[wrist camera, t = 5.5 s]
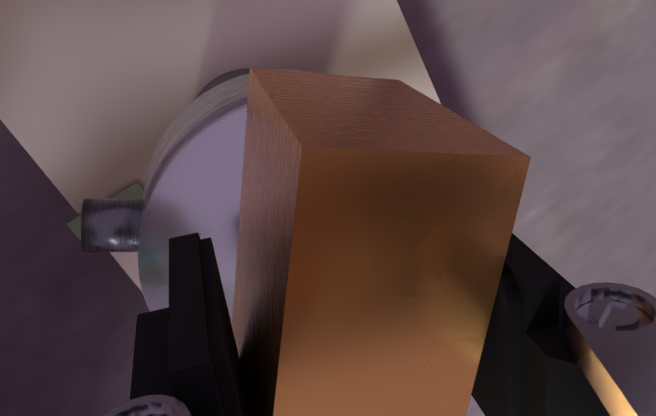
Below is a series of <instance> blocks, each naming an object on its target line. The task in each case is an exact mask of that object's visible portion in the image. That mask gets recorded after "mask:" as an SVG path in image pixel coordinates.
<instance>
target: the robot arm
mask: <svg viewBox="0 0 656 416" xmlns="http://www.w3.org/2000/svg"><path fill="white" fill-rule="evenodd" d="M471 395H472V396H473V398H474V399H475V401H476V402H477V404H478V405H479V407H480V408H481V410H482V411H483V413H484V414H485V416H656V298H655V297H654V296H652V295H651V294H649V293H647V292H645V291H643V290H641V289H639V288H635V287H632V286H628V285H624V284H617V283H609V282H606V283H592V284H587V285H583V286H580V287H578V288H575V287H573V286H572V285H571V284H570V283H569V282H568V281H567V280H565V279H564V278H563V277H562V276H561V275H560V274H559V273H557V272H556V271H555V270H554V269H553V268H552V267H550V266H549V265H548V264H547V263H546V262H545V261H544V260H542V259H541V258H540V257H539V256H538V255H537V254H536V253H534V252H533V251H532V250H531V249H530V248H529V247H528V246H526V245H525V244H524V243H523V242H522V241H521V240H519V239H518V238H517V237H516V236H515V235H514V234H513V233H512V234H511V238H510V242H509V246H508V250H507V254H506V258H505V262H504V266H503V270H502V274H501V278H500V281H499V286H498V290H497V294H496V298H495V302H494V305H493V309H492V313H491V317H490V321H489V325H488V329H487V333H486V337H485V341H484V345H483V349H482V353H481V357H480V361H479V365H478V369H477V373H476V377H475V381H474V385H473V389H472V393H471ZM104 416H249V414H248V408H247V402H246V396H245V390H244V384H243V378H242V371H241V365H240V359H239V355H238V350H237V346H236V342H235V337H234V333H233V329H232V324H231V320H230V316H229V312H228V307H227V303H226V299H225V294H224V290H223V286H222V282H221V277H220V273H219V269H218V264H217V260H216V256H215V252H214V247H213V243H212V239H211V237H209V238H205V239H200V236H199V233H198V232H197V233H192V234H187V235H183V236H178V237H173V238H169V307H168V308H163V309H159V310H155V311H150V312H146V313H142V314H139V315H138V317H137V325H136V336H135V348H134V359H133V371H132V382H131V394H130V400H129V401H127V402H125V403H123V404H121V405H119V406H116V407H115V408H113V409H112V410H111V411H109V412H108V413H106V414H105V415H104Z"/></svg>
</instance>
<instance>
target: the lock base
mask: <svg viewBox="0 0 656 416" xmlns="http://www.w3.org/2000/svg"><path fill="white" fill-rule="evenodd" d="M250 68H258V69H270V70H275V69H281V70H300V71H306V72H313V73H321V74H333V75H346V76H358V77H371V78H384V79H396V80H400V81H402V82H404V83H405V84H407V85H409V86H410V87H412V88H414V89H416V90H417V91H419V92H421V93H422V94H424V95H426V96H428V97H429V98H431V99H433V100H434V101H436V102H438V103H439V104H441V103H440V100H439V98H438V96H437V93H436V91H435V89H434V86H433V84H432V82H431V79H430V77H429V75H428V72H427V70H426V68H425V65H424V63H423V61H422V58H421V56H420V54H419V51H418V49H417V47H416V44H415V42H414V40H413V37H412V35H411V33H410V30H409V28H408V26H407V23H406V21H405V19H404V16H403V14H402V11H401V9H400V7H399V4H398V2H397V0H0V120H1V121H2V122H3V123H4V124H5V126H6V127H7V128H8V129H9V131H10V132H11V133H12V134H13V135H14V137H15V138H16V139H17V140H18V141H19V143H20V144H21V145H22V146H23V148H24V149H25V150H26V151H27V152H28V154H29V155H30V156H31V157H32V159H33V160H34V161H35V162H36V163H37V165H38V166H39V167H40V168H41V170H42V171H43V172H44V173H45V174H46V176H47V177H48V178H49V179H50V180H51V182H52V183H53V184H54V185H55V187H56V188H57V189H58V190H59V191H60V193H61V194H62V195H63V196H64V198H65V199H66V200H67V201H68V202H69V204H70V205H71V206H72V207H73V209H74V210H75V211H76V212H77V213H78V216H76V217H74V218H72V219H71V220H69V221H67V223H66V224H67V226H68V227H69V228H70V229H71V230H72V232H73V233H74V234H75V235H76V236H77V237H78V239H79V240H81V213H82V205H83V200H84V198H112V199H143V196H144V186H145V179H146V175H147V171H148V166H149V163H150V161H151V158H152V156H153V153H154V150H155V148H156V146H157V144H158V143H159V141H160V139H161V137H162V136H163V134H164V132H165V131H166V130H167V128H168V127H169V126H170V124H171V123H172V122H173V120H174V119H175V118H176V117H177V116H178V115H179V114H180V113H181V112H182V111H183V110H184V109H185V108H186V107H187V106H188V105H189V104H190V103H191V102H193V101H194V100H195V99H197V98H198V97H199V96H201V95H202V94H203V93H205V92H207V91H208V90H210V89H212V88H214V87H215V86H217V85H219V84H221V83H223V82H226V81H228V80H231V79H233V78H236V77H238V76H242V75H246V74H249V72H250ZM110 254H111V255H112V256H113V257H114V258H115V260H116V261H117V262H118V263H119V265H120V266H121V267H122V268H123V269H124V271H125V272H126V273H127V274H128V276H129V277H130V278H131V279H132V280H133V282H134V283H135V284H136V285H137V287H138V288H139V289H140V290H141V291H142V287H141V283H140V279H139V268H138V252H110ZM142 293H143V292H142Z"/></svg>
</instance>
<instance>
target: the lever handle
mask: <svg viewBox="0 0 656 416" xmlns="http://www.w3.org/2000/svg"><path fill="white" fill-rule="evenodd" d="M530 159H531V157H530V156H528V155H526V154H525V153H523V152H521V151H519V150H518V149H516V148H514V147H513V146H511V145H509V144H508V143H506V142H504V141H502V140H501V139H499V138H497V137H496V136H494V135H492V134H490V133H489V132H487V131H485V130H484V129H482V128H480V127H479V126H477V125H475V124H473V123H472V122H470V121H468V120H467V119H465V118H463V117H462V116H460V115H458V114H456V113H455V112H453V111H451V110H450V109H448V108H446V107H445V106H443V105H441V104H439V103H438V102H436V101H434V100H433V99H431V98H429V97H428V96H426V95H424V94H422V93H421V92H419V91H417V90H416V89H414V88H412V87H410V86H409V85H407V84H405V83H404V82H402V81H400V80H396V79H384V78H371V77H358V76H346V75H333V74H321V73H313V72H306V71H300V70H281V69H275V70H270V69H258V68H250V72H249V74H246V75H242V76H238V77H236V78H233V79H231V80H228V81H226V82H223V83H221V84H219V85H217V86H215V87H214V88H212V89H210V90H208V91H207V92H205V93H203V94H202V95H201V96H199V97H198V98H197V99H195V100H194V101H193V102H191V103H190V104H189V105H188V106H187V107H186V108H185V109H184V110H183V111H182V112H181V113H180V114H179V115H178V116H177V117H176V118H175V119H174V120H173V122H172V123H171V124H170V126H169V127H168V128H167V130H166V131H165V132H164V134H163V136H162V137H161V139H160V141H159V143H158V144H157V146H156V148H155V150H154V153H153V156H152V158H151V161H150V163H149V166H148V171H147V175H146V179H145V186H144V196H143V199H112V198H84V200H83V205H82V213H81V245H82V250H83V252H138V268H139V279H140V283H141V287H142V292H143V296H144V299H145V301H146V304H147V306H148V309H149V311H155V310H159V309H163V308H168V307H169V238H173V237H178V236H183V235H187V234H192V233H197V232H198V233H199V236H200V239H205V238H209V237H211V239H212V243H213V247H214V252H215V256H216V260H217V264H218V269H219V273H220V277H221V282H222V286H223V290H224V294H225V299H226V303H227V307H228V312H229V316H230V320H231V324H232V329H233V333H234V337H235V342H236V346H237V350H238V355H239V359H240V365H241V371H242V378H243V384H244V390H245V396H246V402H247V408H248V414H249V416H466V413H467V409H468V405H469V401H470V397H471V393H472V389H473V385H474V381H475V377H476V373H477V369H478V365H479V361H480V357H481V353H482V349H483V345H484V341H485V337H486V333H487V329H488V325H489V321H490V317H491V313H492V309H493V305H494V302H495V298H496V294H497V290H498V286H499V281H500V278H501V274H502V270H503V266H504V262H505V258H506V254H507V250H508V246H509V242H510V238H511V234H512V230H513V226H514V222H515V218H516V214H517V210H518V206H519V202H520V198H521V194H522V190H523V186H524V182H525V178H526V174H527V170H528V166H529V163H530Z"/></svg>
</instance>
